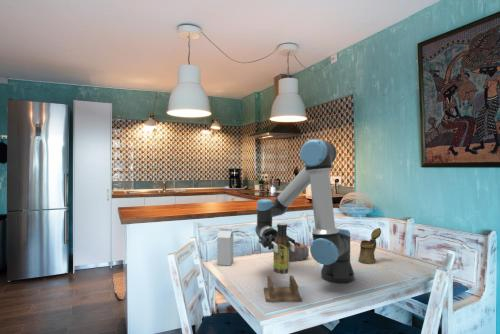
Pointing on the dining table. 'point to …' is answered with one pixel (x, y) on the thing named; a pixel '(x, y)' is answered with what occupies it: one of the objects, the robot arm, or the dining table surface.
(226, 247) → the milk carton
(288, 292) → the walnut slotted rack
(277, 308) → the dining table surface
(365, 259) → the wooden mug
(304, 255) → the food item
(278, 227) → the sauce bottle
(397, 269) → the dining table surface
